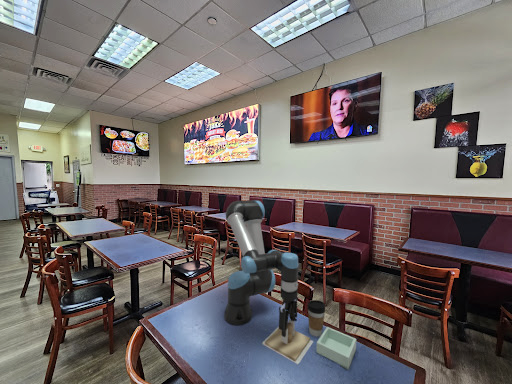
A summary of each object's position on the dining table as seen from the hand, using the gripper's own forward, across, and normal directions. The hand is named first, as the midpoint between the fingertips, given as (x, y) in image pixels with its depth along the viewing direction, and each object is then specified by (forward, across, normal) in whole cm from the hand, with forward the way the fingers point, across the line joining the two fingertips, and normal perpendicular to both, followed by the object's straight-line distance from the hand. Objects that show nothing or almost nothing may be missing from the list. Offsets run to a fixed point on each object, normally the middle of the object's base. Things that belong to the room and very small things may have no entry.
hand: (287, 338), depth 98 cm
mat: (+3, 0, 0) cm, 3 cm away
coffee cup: (+3, +14, -7) cm, 16 cm away
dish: (+3, +9, -19) cm, 21 cm away
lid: (+2, 0, 0) cm, 2 cm away
